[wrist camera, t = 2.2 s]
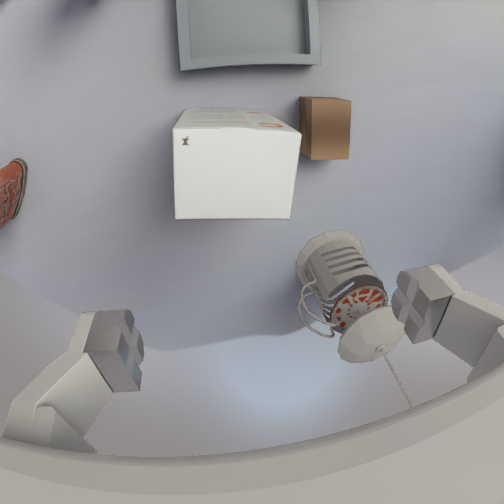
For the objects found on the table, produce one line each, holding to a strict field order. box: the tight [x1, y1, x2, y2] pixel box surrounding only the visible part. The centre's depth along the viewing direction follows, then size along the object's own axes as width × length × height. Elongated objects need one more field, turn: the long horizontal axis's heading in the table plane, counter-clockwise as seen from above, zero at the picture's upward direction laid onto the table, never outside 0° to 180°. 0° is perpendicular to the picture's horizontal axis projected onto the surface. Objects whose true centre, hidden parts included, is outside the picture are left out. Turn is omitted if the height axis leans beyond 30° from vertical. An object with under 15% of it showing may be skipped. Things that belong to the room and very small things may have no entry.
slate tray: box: [176, 0, 321, 71], centre depth 22 cm, size 13×13×2 cm
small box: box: [172, 108, 302, 220], centre depth 24 cm, size 8×6×13 cm
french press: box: [296, 230, 413, 408], centre depth 30 cm, size 10×12×25 cm
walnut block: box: [300, 97, 351, 160], centre depth 29 cm, size 6×4×4 cm, turn 2°
